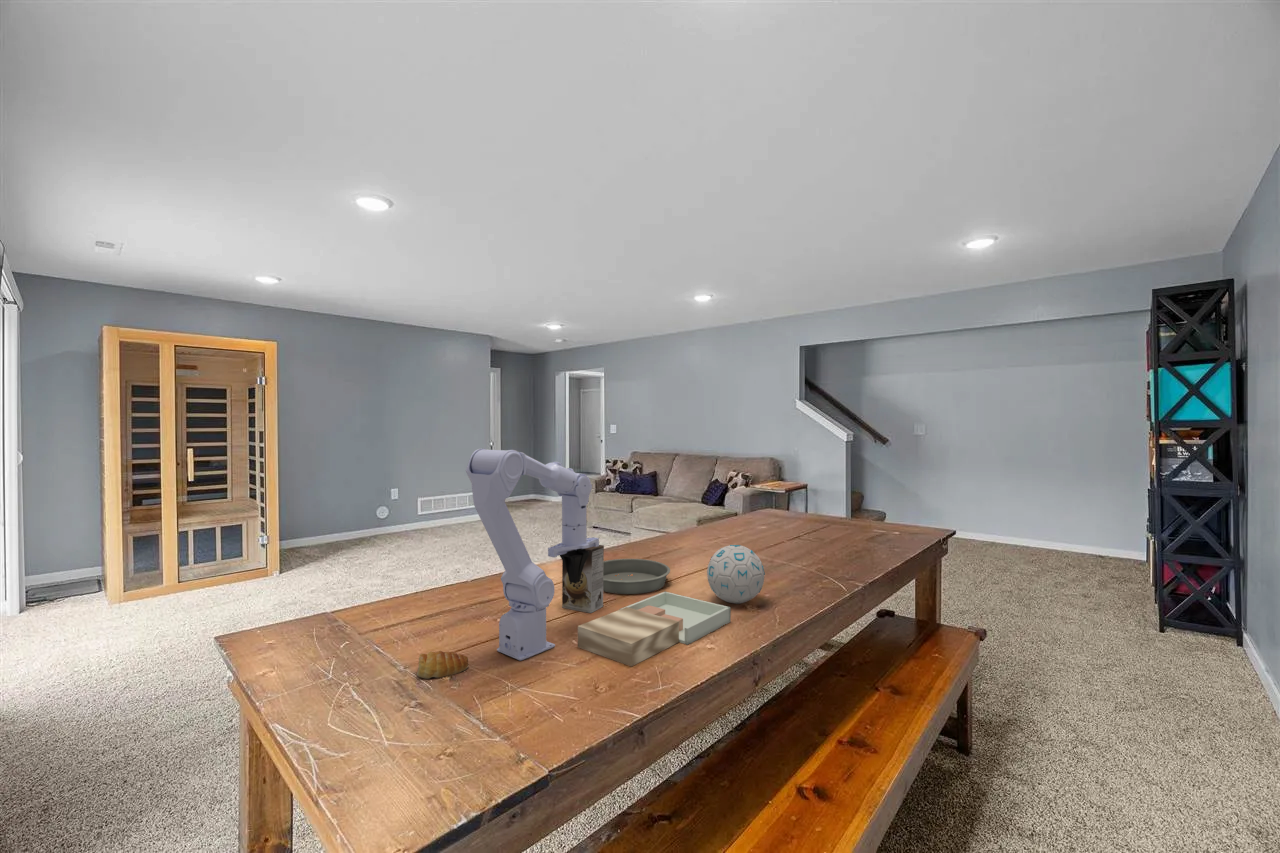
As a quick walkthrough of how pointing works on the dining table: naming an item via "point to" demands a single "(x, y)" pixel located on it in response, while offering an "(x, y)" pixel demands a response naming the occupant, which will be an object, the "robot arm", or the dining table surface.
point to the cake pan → (642, 581)
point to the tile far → (653, 610)
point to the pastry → (441, 664)
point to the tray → (689, 614)
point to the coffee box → (585, 584)
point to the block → (628, 635)
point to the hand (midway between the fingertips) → (574, 581)
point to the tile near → (675, 620)
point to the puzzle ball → (735, 574)
